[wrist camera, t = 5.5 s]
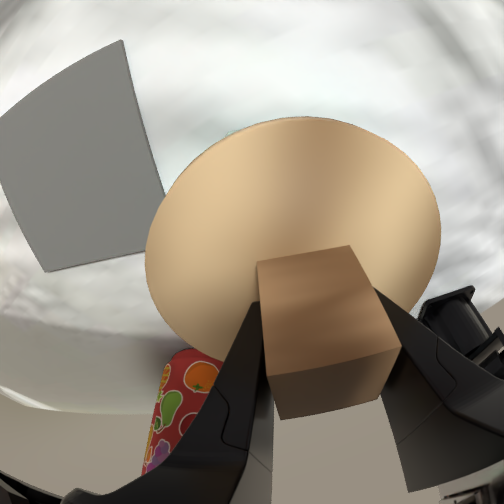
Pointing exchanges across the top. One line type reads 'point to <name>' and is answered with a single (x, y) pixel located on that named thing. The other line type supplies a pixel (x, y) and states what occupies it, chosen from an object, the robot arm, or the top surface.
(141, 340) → the top surface
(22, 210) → the mat
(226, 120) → the top surface
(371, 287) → the lid
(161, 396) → the smoothie
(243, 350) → the robot arm
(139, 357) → the top surface
